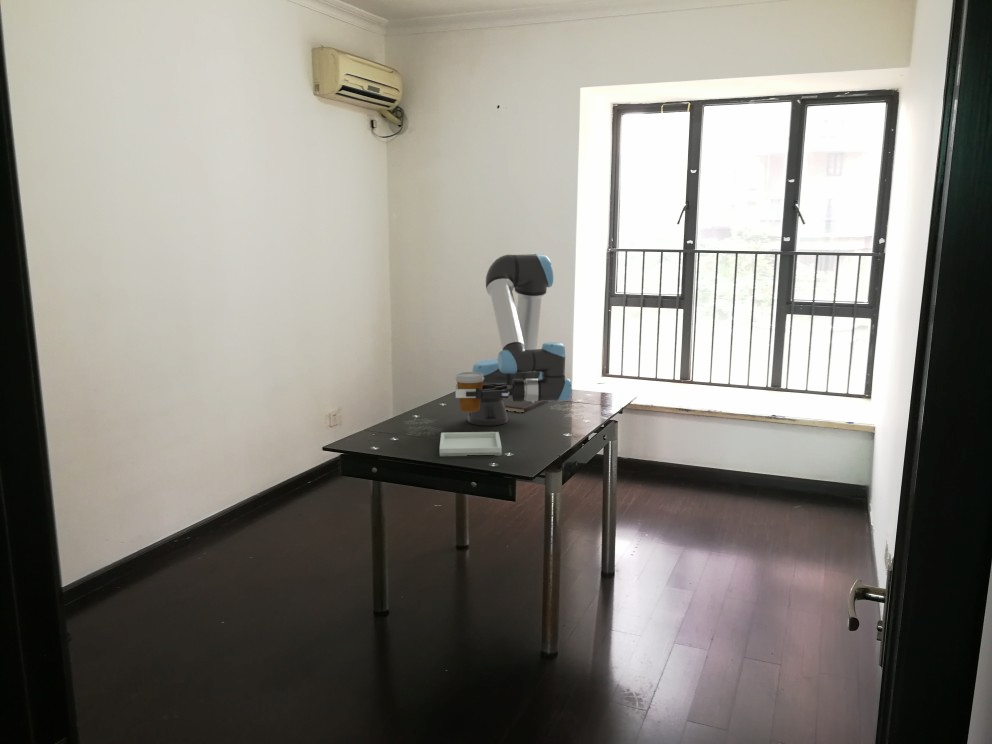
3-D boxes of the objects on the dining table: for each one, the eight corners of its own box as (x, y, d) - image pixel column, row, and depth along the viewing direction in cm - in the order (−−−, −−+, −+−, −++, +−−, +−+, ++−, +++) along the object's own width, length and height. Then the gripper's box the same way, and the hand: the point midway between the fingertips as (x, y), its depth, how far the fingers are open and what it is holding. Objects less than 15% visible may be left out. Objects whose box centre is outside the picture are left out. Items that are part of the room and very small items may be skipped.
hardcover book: (489, 409, 308) (489, 404, 308) (515, 399, 328) (515, 394, 327) (524, 414, 300) (524, 408, 300) (548, 403, 320) (549, 397, 320)
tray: (439, 456, 242) (439, 448, 241) (441, 439, 261) (441, 432, 261) (501, 455, 243) (501, 447, 242) (498, 438, 262) (498, 431, 262)
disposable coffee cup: (486, 407, 253) (485, 372, 251) (482, 413, 244) (482, 377, 242) (458, 406, 254) (457, 371, 252) (453, 412, 245) (453, 376, 243)
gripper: (527, 408, 239) (455, 409, 238) (521, 394, 260) (456, 395, 259) (527, 384, 238) (455, 385, 237) (521, 373, 259) (455, 374, 258)
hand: (455, 390), depth 248 cm, fingers closed on disposable coffee cup, 8 cm apart
